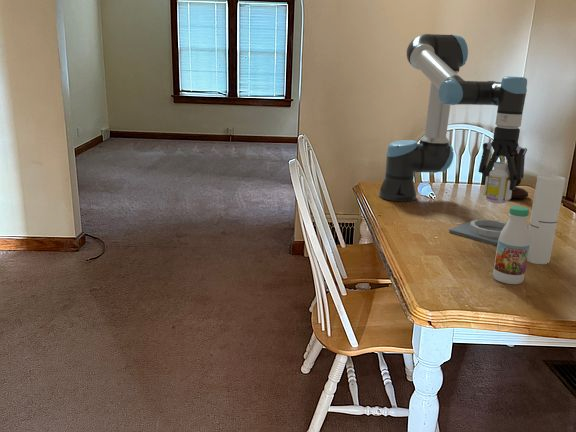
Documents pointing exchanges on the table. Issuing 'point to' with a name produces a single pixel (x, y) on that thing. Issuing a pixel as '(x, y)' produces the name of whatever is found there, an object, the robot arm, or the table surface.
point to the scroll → (518, 191)
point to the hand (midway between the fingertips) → (496, 196)
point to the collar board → (481, 230)
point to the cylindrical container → (544, 217)
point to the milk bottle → (513, 248)
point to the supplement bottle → (498, 183)
